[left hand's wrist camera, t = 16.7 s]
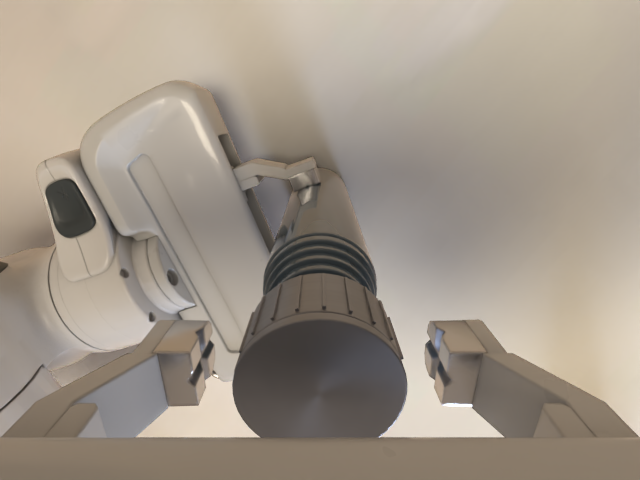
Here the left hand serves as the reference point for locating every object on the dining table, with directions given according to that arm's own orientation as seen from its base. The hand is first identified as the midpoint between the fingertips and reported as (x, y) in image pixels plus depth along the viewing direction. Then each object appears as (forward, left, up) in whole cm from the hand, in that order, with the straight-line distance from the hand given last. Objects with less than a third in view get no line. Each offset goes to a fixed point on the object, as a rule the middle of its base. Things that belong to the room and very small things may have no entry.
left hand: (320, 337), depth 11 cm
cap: (0, 0, +2) cm, 2 cm away
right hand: (-1, 0, -12) cm, 12 cm away
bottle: (0, 0, -18) cm, 18 cm away
